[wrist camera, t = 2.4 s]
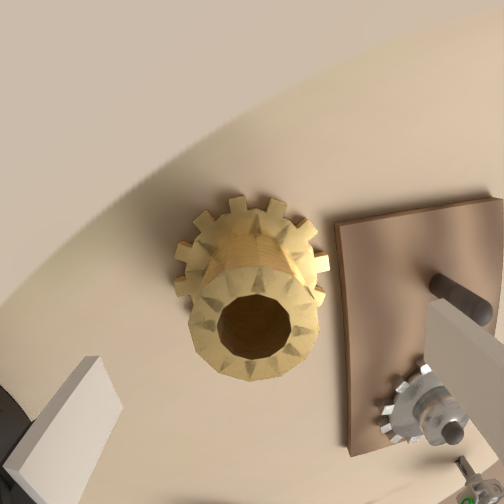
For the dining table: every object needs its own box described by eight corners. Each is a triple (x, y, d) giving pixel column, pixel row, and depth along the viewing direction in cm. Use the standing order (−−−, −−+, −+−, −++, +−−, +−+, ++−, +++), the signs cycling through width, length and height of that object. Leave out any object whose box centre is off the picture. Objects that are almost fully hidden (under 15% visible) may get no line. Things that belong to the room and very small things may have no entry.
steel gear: (373, 447, 27) (388, 481, 22) (379, 369, 24) (401, 404, 19) (460, 415, 26) (480, 442, 22) (477, 335, 24) (507, 359, 19)
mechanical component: (447, 452, 30) (477, 501, 20) (482, 452, 31) (510, 492, 21) (433, 466, 31) (460, 515, 21) (470, 465, 32) (496, 506, 22)
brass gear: (196, 347, 25) (176, 423, 16) (161, 212, 22) (112, 235, 14) (331, 324, 25) (368, 392, 16) (314, 183, 22) (357, 190, 13)
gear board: (347, 447, 28) (366, 506, 20) (333, 222, 23) (378, 249, 14) (470, 403, 28) (504, 446, 20) (492, 197, 22) (559, 210, 14)
